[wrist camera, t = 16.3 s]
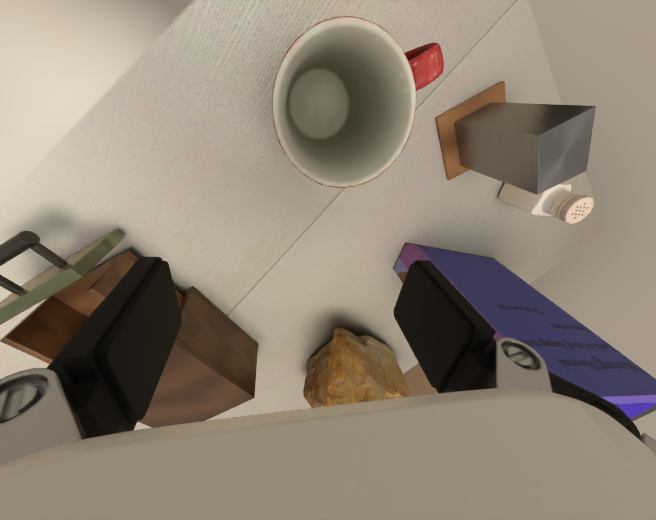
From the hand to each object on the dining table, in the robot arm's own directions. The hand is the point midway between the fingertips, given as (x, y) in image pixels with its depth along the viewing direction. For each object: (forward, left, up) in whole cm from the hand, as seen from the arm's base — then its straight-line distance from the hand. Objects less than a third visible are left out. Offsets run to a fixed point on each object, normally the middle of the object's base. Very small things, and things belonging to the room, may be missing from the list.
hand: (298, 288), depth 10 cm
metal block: (+8, +22, -22) cm, 32 cm away
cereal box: (+26, +15, -23) cm, 38 cm away
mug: (-3, +8, -23) cm, 25 cm away
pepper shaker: (+18, +27, -23) cm, 40 cm away
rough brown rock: (+36, -9, -23) cm, 44 cm away
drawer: (+2, -27, -22) cm, 35 cm away
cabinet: (+16, -27, -23) cm, 39 cm away
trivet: (+8, +22, -23) cm, 33 cm away
